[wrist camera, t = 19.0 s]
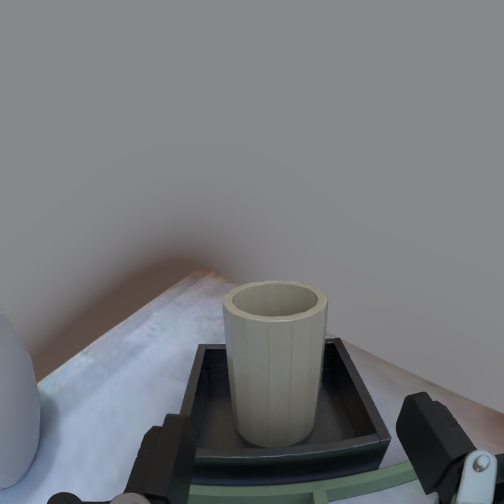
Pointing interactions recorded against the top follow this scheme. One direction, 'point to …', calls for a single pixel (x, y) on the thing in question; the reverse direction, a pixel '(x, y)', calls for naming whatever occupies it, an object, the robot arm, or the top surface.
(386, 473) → the green divided tray
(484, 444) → the top surface
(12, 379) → the soap bottle
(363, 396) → the black tray
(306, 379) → the cup
